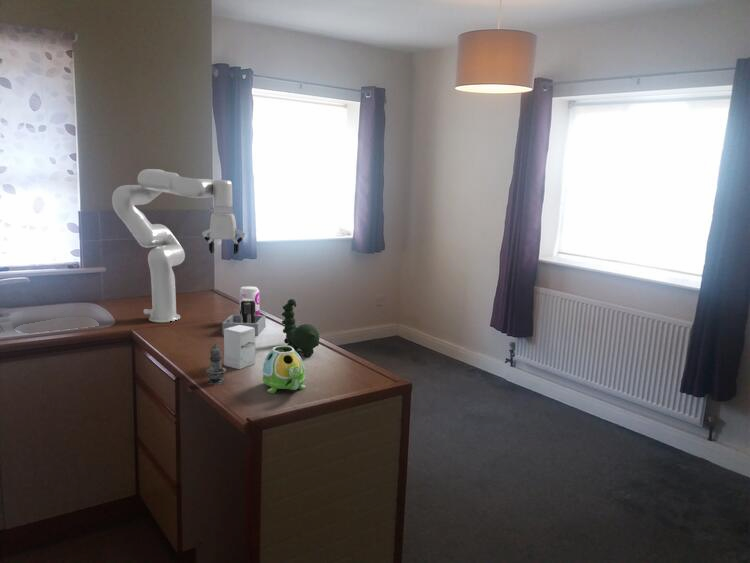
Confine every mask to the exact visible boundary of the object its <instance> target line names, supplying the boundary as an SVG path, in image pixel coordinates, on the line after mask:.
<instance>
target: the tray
mask: <svg viewBox="0 0 750 563" xmlns="http://www.w3.org/2000/svg"><path fill="white" fill-rule="evenodd" d="M266 324H267V323H266V315H261V314H259V315H255V323H241V315H240V314H231V315H229V316H228V317H227V318H226V319H225V320H223V322H222V323H221V327H222V328H221V330H222V335H223V336H224V329H226V328H230V327H234V326H237V325H243V326H248V327H253V328H255V337H258V336H260V334H261V333H262V332H263V330H264V329H265V328H266V327H267V326H266Z"/></svg>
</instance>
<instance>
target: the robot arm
mask: <svg viewBox="0 0 750 563" xmlns="http://www.w3.org/2000/svg"><path fill="white" fill-rule="evenodd" d="M137 183H138V184H126V185H121V186H118V187H117V188H116V189H115V190H114V191H113V193H112V197H111V202H112V203H111V204H112V207H113V210H114V212H115V213H116V215H117V216H118V218H119V219H120V220H121V221H122V222H123V223H124V225H125V226H126V228H127V229H128V230H129V232H130V233H131V235H132V236H133V238H134V239H135V241H136V242H137V244H139V245H140V246H141V247H142V248H146V249H147V248H152V249H150V251H149V252H148V254H147V263H148V266H149V271H150V282H151V283H150V284H151V302H152V303H151V304H152V306H151V307H152V308H151V309H148V308H144V309H143V314H144V315H147V316H148V315H149V317H148V320H149V321H150V322H151V323H152V322H153V323H171V322H170V321H172V322H176V321H175V320H177V321H178V319H179V320H180V319H181V315H180V314H178V313H177V300H176V299H177V296H176V293H177V292H176V276H175V273H174V270H173V268H172V267H175V266H180V264H182V263H183V262H184V261H185V258H186V252H185V250H184V248H183V247H182V245H181V244H180V242H179V240H178V239H177V238H176V237H175V235H174V234H173V232H172V231H171V230H170V228H168V227H167V226H166V225H164V224H162V223H153V224H152V223H151V222H150V221H149V219H147V217H146V215H145V214H144V213H143V212H142V211H141V210H140V209H138V208H137V207H136V206H141V205H142V206H143V205H147V204H149V203H151V202H152V201H153V200H154V199H156V198H157V197H158V196H159V195H161V194H162V193H166V194H172V195H176V196H179V197H180V196H181V197H185V198H186V197H187V198H191V199H192V198H193V199H209V198H213V201H212V202H213V206H212V207H210V208H209V211H210V212H212V214H210V220H209V222H210V223H209V228H208V229H206V230H204V231H202V236H203V237H204V240H206V242H207V243H208V248H209V249H208V251H209V253H210V254H213V253H215V242H214V241H215V240H232V241H233V242H234V244H233V254H234V255H236V254H238V252H239V251H240V249H239V247H240V243H241V242H242V241H243V239H244V238H245V235H246V232H244V231H242V230H240V229H238V228H237V221H236V216H235V214H234V211H233V209H234V208H233V204H234V203H233V199H234V198H233V183H232V181H231V180H227V179H226V180H225V179H211V178H191V177H186V176H184V177H183V176H180V174H178V173H177V172H173V171H172V172H171V171H165V170H163V169H157V168H151V169H150V168H147V169H143V170H141V171H139V173H138V175H137ZM208 234H209V235H208ZM238 235H240V236H239V237H237V236H238Z"/></svg>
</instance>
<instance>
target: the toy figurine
mask: <svg viewBox="0 0 750 563" xmlns="http://www.w3.org/2000/svg"><path fill="white" fill-rule="evenodd" d="M296 307H297V301H296V300H295V299H294V298H290V299H289V300H287V302H286V303H285V305H283V306H282V309H283V310H284V311H283V312H282V313H281V316H282V317H284V320H282V321H281V324H282V325H284V328H283V329H282V333H283V334H285V338H284V340H283V342H284V344H286V346H291V347H292V348H294V351H296V352H297V351H298V350H300V351H301V354H302V356H304V357H310V356H313V354H314V349H315V348H316V347H319V345H320V339H321V338H320V333H319V331H318V329H317V328H316V327H315V326H314V325H312V324H309V323H303V324H300V325H298V326H297V325H296V319H295V311H294V308H296Z"/></svg>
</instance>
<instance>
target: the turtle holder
mask: <svg viewBox="0 0 750 563" xmlns="http://www.w3.org/2000/svg"><path fill="white" fill-rule="evenodd" d="M278 350H282V351H281V352H280V351H278ZM305 371H306V369H305V366H304V362H303V359H302V357H301V356H300V355H299V353H298V352H297V350H296V351H294V348H292V347H291V346H287V345H278V346H274V347H272V349H271V350H270V351H269V352H268V353H267V355H266V357H265V359H264V362H263V367H262V375H263V376H262V381H263V383H264V384H265V385H266V386H268V387H270V388H268V389H267V392H268V393H269V394H276V393H277V390H290V391H295V390H304V389H305V388H306V385H305V384H303V383H304V382H305V379H306V377H305Z"/></svg>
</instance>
